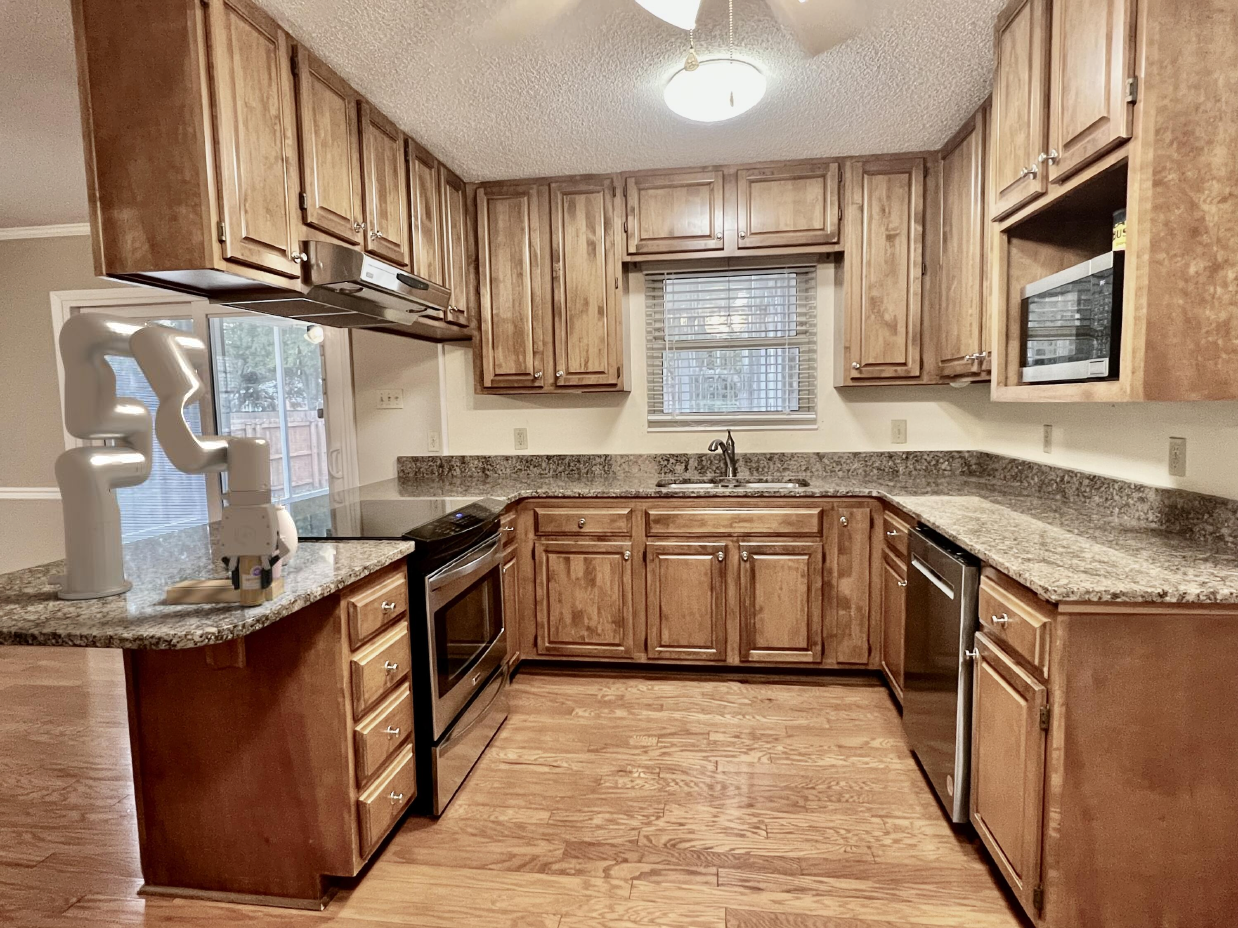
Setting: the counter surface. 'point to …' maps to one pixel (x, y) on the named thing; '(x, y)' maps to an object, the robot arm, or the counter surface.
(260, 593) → the sprinkles bottle
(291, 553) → the sauce bottle
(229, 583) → the maple board
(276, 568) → the smoothie
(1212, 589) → the counter surface
